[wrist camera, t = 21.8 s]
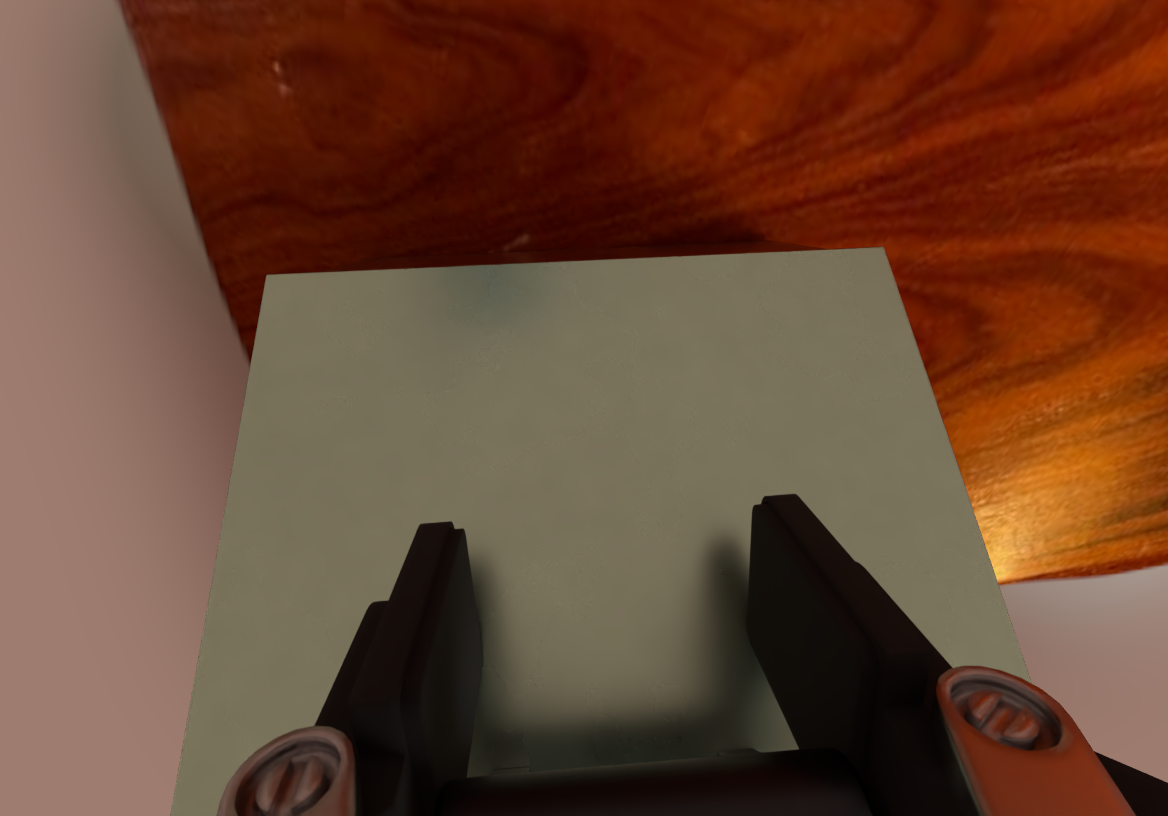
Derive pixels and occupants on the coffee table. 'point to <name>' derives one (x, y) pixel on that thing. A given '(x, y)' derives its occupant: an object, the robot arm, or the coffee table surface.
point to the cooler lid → (583, 514)
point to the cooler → (568, 255)
